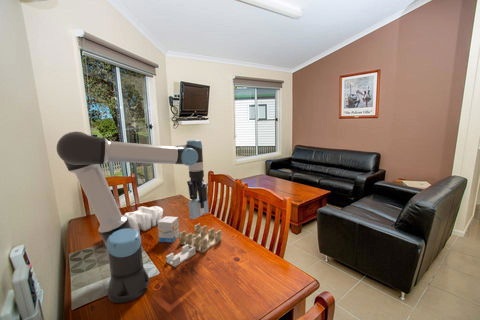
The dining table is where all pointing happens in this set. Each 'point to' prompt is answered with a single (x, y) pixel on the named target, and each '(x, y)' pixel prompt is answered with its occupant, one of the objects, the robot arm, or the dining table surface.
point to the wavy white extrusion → (144, 217)
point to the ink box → (168, 229)
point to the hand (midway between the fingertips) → (199, 212)
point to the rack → (200, 238)
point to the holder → (180, 256)
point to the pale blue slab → (197, 208)
